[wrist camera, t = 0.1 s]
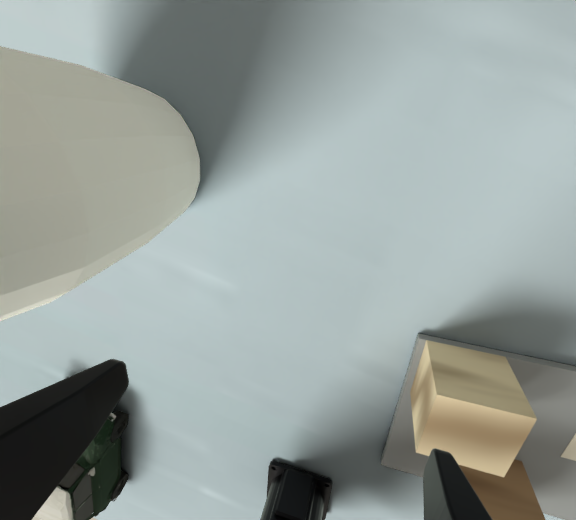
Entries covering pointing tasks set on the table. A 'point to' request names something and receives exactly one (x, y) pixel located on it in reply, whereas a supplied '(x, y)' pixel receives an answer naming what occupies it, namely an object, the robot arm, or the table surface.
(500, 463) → the block
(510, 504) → the block
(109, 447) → the miniature car
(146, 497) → the table surface
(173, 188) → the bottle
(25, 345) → the table surface
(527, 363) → the board
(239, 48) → the table surface
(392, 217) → the table surface
